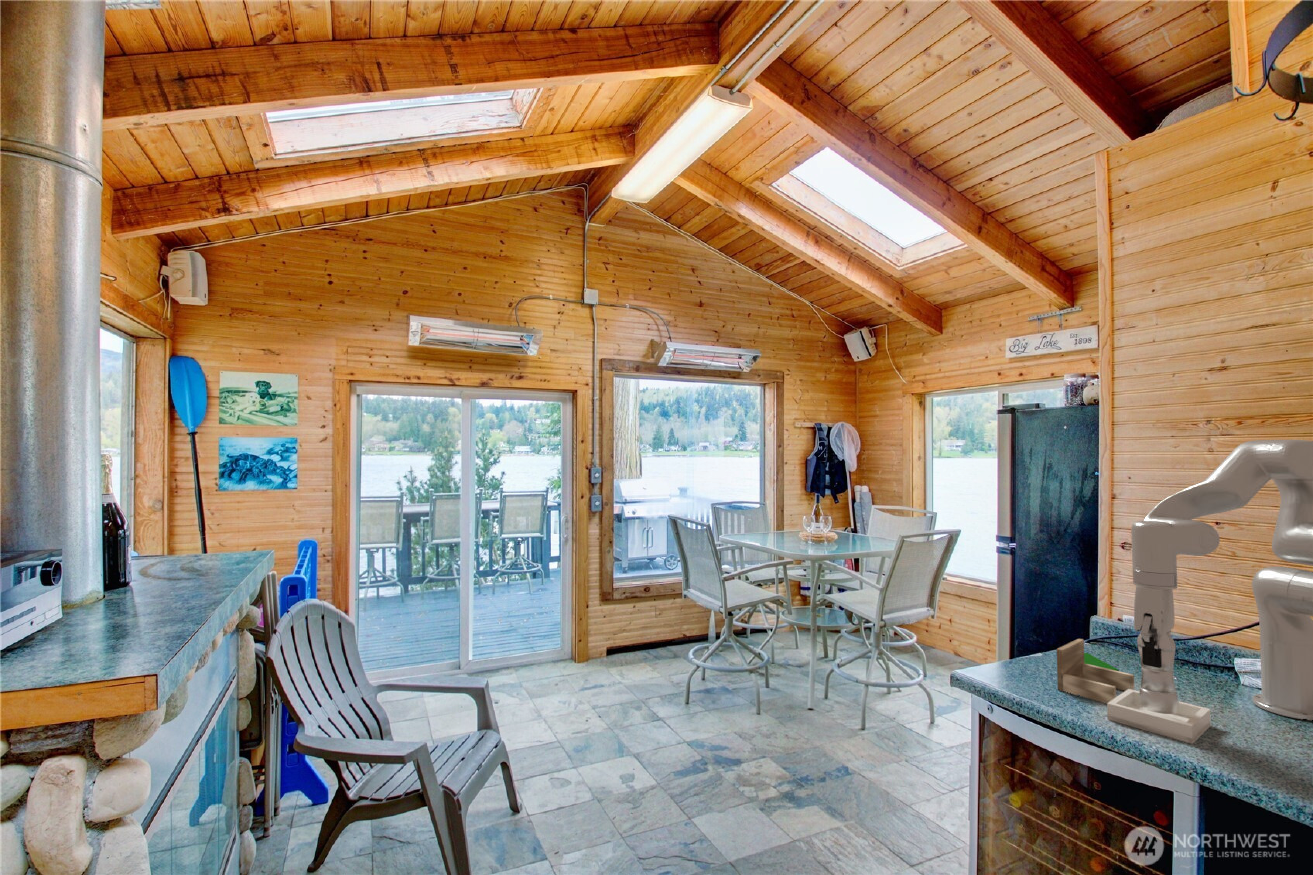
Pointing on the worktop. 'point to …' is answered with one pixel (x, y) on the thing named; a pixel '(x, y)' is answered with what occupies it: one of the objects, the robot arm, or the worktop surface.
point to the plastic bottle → (1159, 679)
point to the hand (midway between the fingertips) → (1157, 661)
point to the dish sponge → (1097, 662)
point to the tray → (1160, 717)
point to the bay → (1088, 675)
